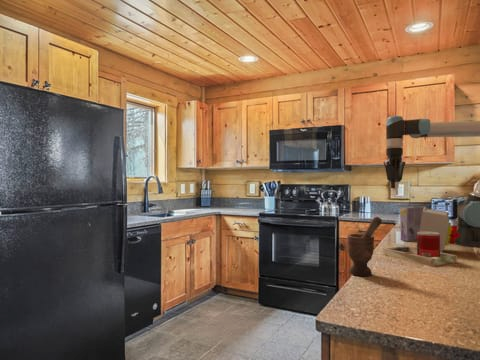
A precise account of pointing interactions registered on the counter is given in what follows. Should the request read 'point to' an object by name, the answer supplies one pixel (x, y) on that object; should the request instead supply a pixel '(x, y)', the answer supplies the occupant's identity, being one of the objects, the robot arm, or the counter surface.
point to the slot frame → (405, 255)
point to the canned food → (428, 244)
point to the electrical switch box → (439, 226)
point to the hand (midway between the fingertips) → (394, 194)
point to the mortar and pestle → (362, 249)
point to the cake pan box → (410, 222)
